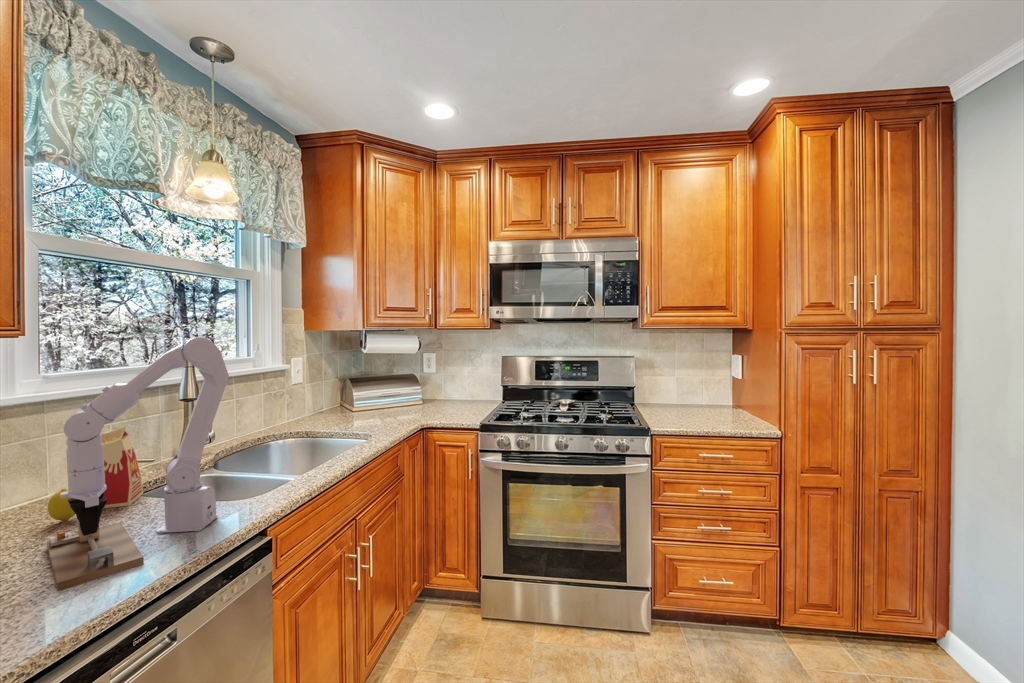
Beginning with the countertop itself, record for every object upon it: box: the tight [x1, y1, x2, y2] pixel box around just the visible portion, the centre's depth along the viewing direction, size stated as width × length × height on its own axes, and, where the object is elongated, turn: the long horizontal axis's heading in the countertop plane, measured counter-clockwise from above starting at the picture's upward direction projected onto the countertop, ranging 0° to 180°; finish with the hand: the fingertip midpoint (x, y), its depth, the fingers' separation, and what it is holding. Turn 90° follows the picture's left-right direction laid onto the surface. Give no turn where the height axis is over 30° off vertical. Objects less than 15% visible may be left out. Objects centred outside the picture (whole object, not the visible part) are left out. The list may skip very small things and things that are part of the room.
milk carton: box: [101, 425, 144, 509], centre depth 122 cm, size 9×9×20 cm
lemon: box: [47, 488, 76, 523], centre depth 110 cm, size 6×6×8 cm
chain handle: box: [49, 520, 100, 550], centre depth 93 cm, size 18×7×5 cm, turn 48°
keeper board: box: [46, 522, 145, 592], centre depth 93 cm, size 24×12×4 cm, turn 48°
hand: (88, 531), depth 97 cm, fingers closed on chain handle, 2 cm apart
